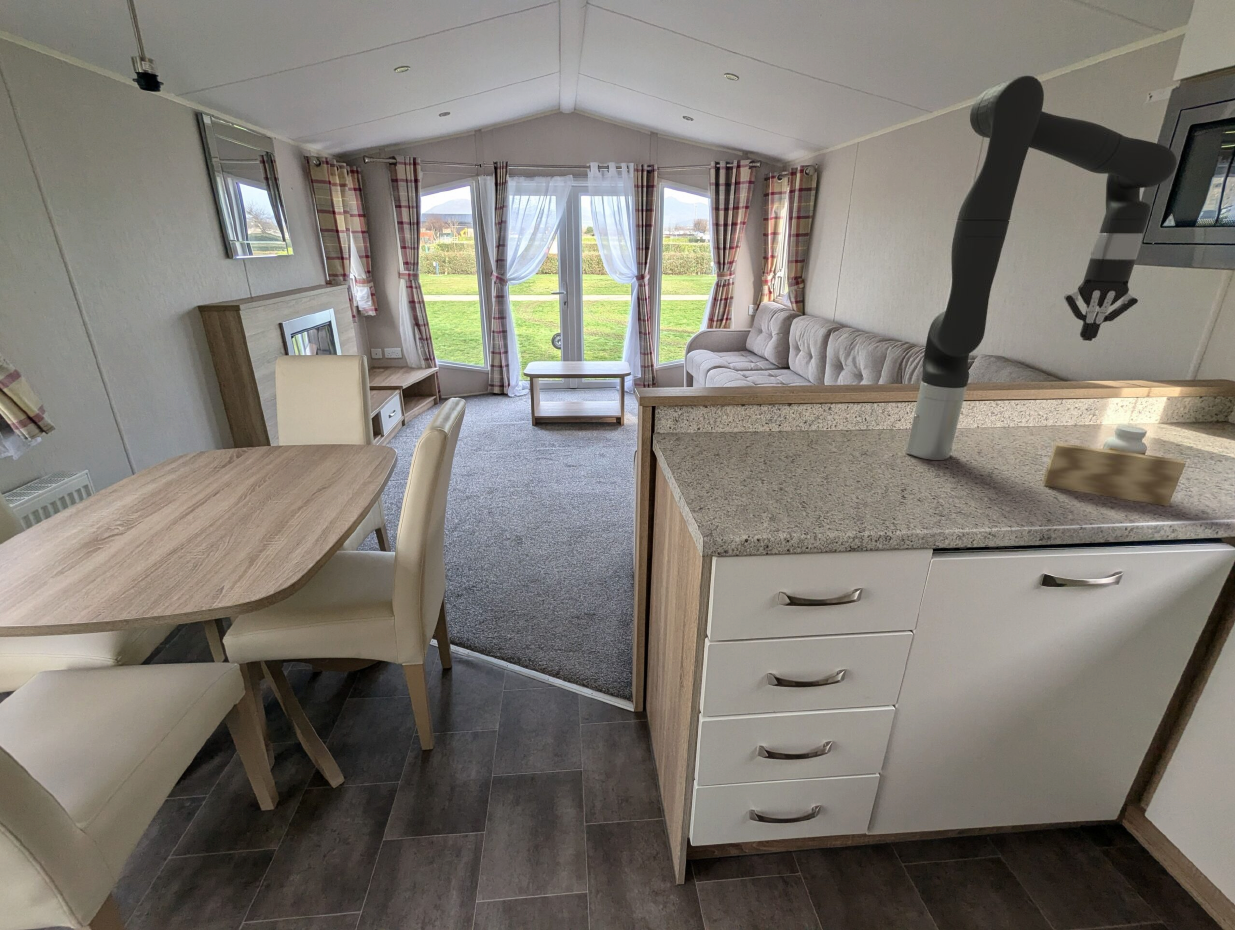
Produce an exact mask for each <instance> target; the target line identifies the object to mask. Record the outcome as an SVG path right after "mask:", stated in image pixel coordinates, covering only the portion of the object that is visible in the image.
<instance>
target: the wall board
mask: <svg viewBox="0 0 1235 930" xmlns="http://www.w3.org/2000/svg"><path fill="white" fill-rule="evenodd" d="M1186 465H1187V463H1186V462H1185V461H1184V460H1183V459H1179V458H1171V457H1165V456H1164V457H1163V456H1157V455H1150V454H1149V455H1148V454H1145V455H1143V454H1136V453H1128V452H1121V451H1114V450H1106V449H1103V448H1098V447H1090V446H1084V445H1083V446H1082V445H1077V444H1076V445H1075V444H1071V443H1070V444H1069V443H1064V442H1063V443H1061V442H1055V443H1054V445H1053V448H1052V451H1051V455H1050V458H1049V461H1048V464H1047V467H1046V470H1045V472H1044V473H1045V474H1044V476H1043V480H1042V484H1043V486H1044V487H1049V488H1056V489H1062V490H1067V491H1074V492H1079V493H1085V494H1090V495H1091V494H1092V495H1099V496H1103V497H1110V498H1116V499H1122V500H1127V501H1128V500H1129V501H1132V502H1133V501H1135V502H1140V503H1146V504H1152V505H1159V506H1164V507H1169V505H1170V503H1171V500H1172V498H1173V496H1174V493H1175V491H1176V489H1177V486H1178V484H1179V481H1180V479H1181V477H1182V474H1183V472H1184V470H1185V467H1186Z"/></svg>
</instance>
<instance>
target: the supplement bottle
mask: <svg viewBox="0 0 1235 930" xmlns="http://www.w3.org/2000/svg"><path fill="white" fill-rule="evenodd" d="M1147 432H1148V430H1147V429H1144V428H1142V427H1139V426H1134V425H1126V424H1119V425H1117V426H1116V427H1115V430H1114V436H1110V437H1108V438H1106V439H1105V441H1104V442H1103V443H1104V444H1103V445H1102V449H1106V450H1114V451H1121V452H1128V453H1136V454H1143V455H1146V453H1147V451H1148V446H1147V444H1146V443H1145V442H1144V441H1143V439H1145V438H1146V435H1147Z"/></svg>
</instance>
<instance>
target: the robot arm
mask: <svg viewBox="0 0 1235 930" xmlns="http://www.w3.org/2000/svg"><path fill="white" fill-rule="evenodd" d="M1044 97H1045V93H1044V88H1043V85H1042V83H1041V81H1040V80H1039V79H1038V78H1037V77H1034V76H1032V75H1022V76H1021V75H1020V76H1017V77H1015V78H1012V79H1009V80H1006V81H1003V82H1001V83H998V84H995V85H994V86H991V87H989V88H988V89H987V90H984V92H982V93H980V95H979V96H978V97H977V98H976V99H975V101H974V103H973V104H972V107H971V109H970V113H969V122H970V126H971V128H972V130H973V131H974V132H975V134H976V135H978V136H980V137H983V138H987V139H989V140H988V141H989V142H988V146H987V150H986V156H985V158H984V162H983V165H982V167H981V169H980V172H979V173H978V175H977V177H976V180H975V181H974V183H972V186H971V188H970V190H969V191H968V193H967V194H966V197H965V198H964V200H963V203H962V204H961V206H960V209H959V212H958V215H957V218H956V223H955V229H954V233H953V237H952V244H951V255H950V256H951V259H950V260H951V261H950V262H951V263H950V264H951V288H950V294H949V297H948V302H947V305H946V309H945V310H944V311H942V312H940V313H939V314H938V315H937V316H936V317H935V318H934V319H933V320H932V322H931V324H930V326H929V328H928V332H927V337H926V342H925V347H924V354H923V359H922V376H921V381H920V386H919V390H918V395H917V399H916V405H915V409H914V411H913V412H914V413H913V418H912V423H911V427H910V431H909V435H908V436H909V437H908V442H907V447H906V450H905V454H907V455H911V456H914V457H916V458H920V459H924V460H932V461H941V460H947V459H949V458H950V456H951V452H952V449H953V444H954V441H955V438H956V437H955V436H956V432H957V429H958V424H959V420H960V416H961V413H962V408H963V404H964V399H965V395H966V392H967V389H968V383H969V380H970V370H969V359H970V354H971V353H973V352H974V351H975V350H976V349H977V348H978V347H979V346H980V345H981V343H982V341H983V340H984V337H985V332H986V327H987V325H986V324H987V319H988V318H987V316H988V310H989V309H988V308H989V301H990V296H991V291H992V285H993V283H994V279H995V276H996V272H997V269H998V266H999V261H1000V257H1001V255H1002V252H1003V251H1002V249H1003V247H1004V243H1005V240H1006V237H1007V232H1008V228H1009V225H1010V220H1011V216H1012V210H1013V205H1014V202H1015V198H1016V194H1017V191H1018V187H1019V182H1020V179H1021V174H1022V171H1023V166H1024V163H1025V160H1026V157H1027V154H1028V151H1029V149H1034V150H1036V151H1040V152H1042V153H1046V154H1048V155H1050V156H1053V157H1055V158H1058V159H1061V160H1062V161H1065V162H1067V163H1069V164H1072V165H1074V166H1076V167H1078V168H1082V169H1084V170H1086V171H1088V172H1091V173H1093V174H1100V175H1101V174H1103V175H1104V174H1105V175H1106V174H1107V177H1106V184H1105V215H1104V216H1103V220H1102V223H1101V226H1100V230H1099V232H1098V233H1099V234H1098V236H1097V239H1096V240H1095V241H1094V245H1093V248H1092V250H1091V252H1090V258H1089V261H1088V265H1087V267H1086V271H1085V275H1084V277H1083V281H1082V283H1081V284H1080V285H1079V286H1078V287H1077V290H1075V291H1073V292H1071V293H1069V294H1065V295H1064V296H1063V299H1064V301H1065V302H1066V304H1067V306H1068V307H1069V308H1068V309H1070V311H1071V313H1072V314H1073V316H1074V317H1075V318H1076V319H1077V320H1079V321H1082V322H1083V323H1082V326H1081V329H1080V332H1079V337H1080V338H1081V340H1082V341H1087V342H1092V341H1093V339H1096V338H1097V337H1098V334H1099V331H1100V328H1101V325H1102V324H1103V323H1106V322H1113V321H1115V319H1117V318H1118V317H1119V316H1121V315H1122V314H1125V312H1126V311H1128V310H1129V309H1130V308H1133V306H1135V305H1136V304H1137V303H1138V301H1139V299H1137V298H1136V297H1134V296H1133V295H1132V294H1130V293H1129V292H1130V287H1129V281H1130V278H1131V275H1132V273H1133V270H1134V266H1135V263H1136V260H1137V257H1138V255H1139V252H1140V248H1141V247H1142V246H1141V245H1142V240H1143V235H1144V234H1143V233H1144V232H1145V229H1146V226H1147V222H1148V219H1149V216H1150V213H1151V205H1150V204H1149V203H1147V202H1144V201H1141V192H1140V191H1141V189H1144V188H1152V187H1156V186H1158V185H1161V184H1162V183H1164V182H1166V181H1167V180H1168V179H1169V178H1170V177H1171V176H1172V175H1173V174H1174V172H1175V169H1176V168H1177V163H1178V162H1177V157H1176V154H1175V152H1174V151H1173V150H1172V149H1171V148H1170V147H1167V145H1166V146H1165V145H1164V144H1161V143H1156V142H1153V141H1150V140H1149V141H1148V140H1144V139H1141V138H1134V137H1128V136H1125V135H1123V134H1121V133H1119V132H1117V131H1115V130H1113V129H1111V128H1108V127H1106V126H1104V125H1101V124H1099V123H1095V122H1092V121H1087V120H1084V119H1077V118H1071V117H1066V116H1061V115H1056V114H1052V113H1048V112H1045V111H1042V110H1043V106H1044V102H1045V101H1044V100H1045V98H1044ZM1079 296H1080V298H1081V300H1082V302H1083V303H1084V305H1086V306H1085V312H1084V313H1083V312H1082V310H1081V309H1080V306H1079V305H1078V303H1077V302H1078V301H1079V299H1080V298H1079ZM1119 301H1120V304H1119V305H1118V306H1115V308H1113V309H1112V310H1111V311H1110V312H1109V309H1110V307H1111V306H1114V304H1116V303H1117V302H1119Z"/></svg>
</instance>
